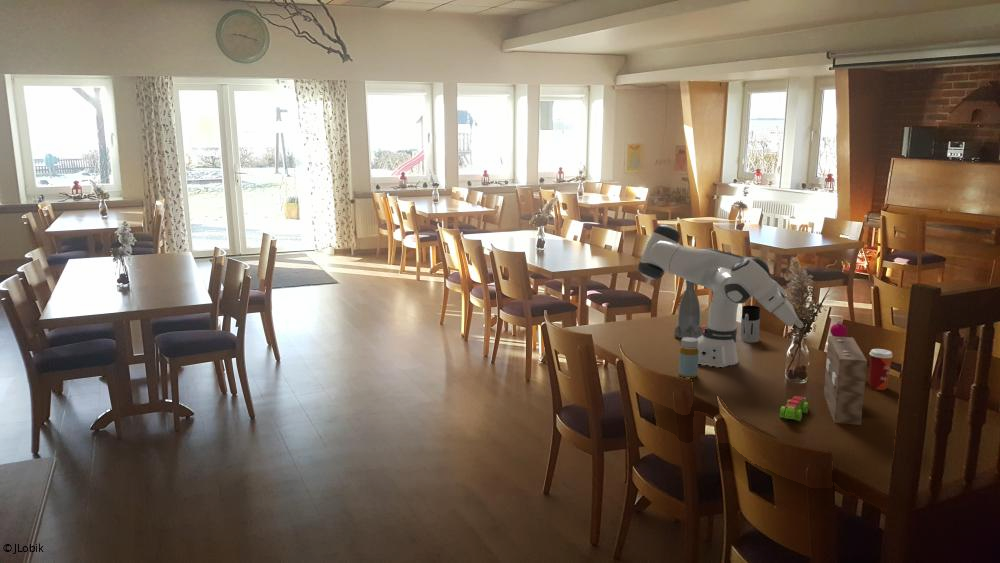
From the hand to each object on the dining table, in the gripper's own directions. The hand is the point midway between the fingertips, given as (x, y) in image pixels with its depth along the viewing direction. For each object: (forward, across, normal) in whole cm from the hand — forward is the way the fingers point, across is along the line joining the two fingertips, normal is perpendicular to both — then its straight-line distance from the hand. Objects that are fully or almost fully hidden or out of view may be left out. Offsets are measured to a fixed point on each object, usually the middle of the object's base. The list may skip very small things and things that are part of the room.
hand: (801, 326), depth 246 cm
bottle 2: (-6, -24, -47) cm, 53 cm away
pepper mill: (+34, -46, -8) cm, 58 cm away
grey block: (+22, -10, -3) cm, 25 cm away
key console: (+31, -3, -10) cm, 33 cm away
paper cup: (+43, -28, +1) cm, 51 cm away
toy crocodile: (+20, +6, -22) cm, 30 cm away
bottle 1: (-7, -77, -48) cm, 91 cm away
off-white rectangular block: (+22, +4, -3) cm, 23 cm away
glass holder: (+12, -77, -30) cm, 83 cm away
